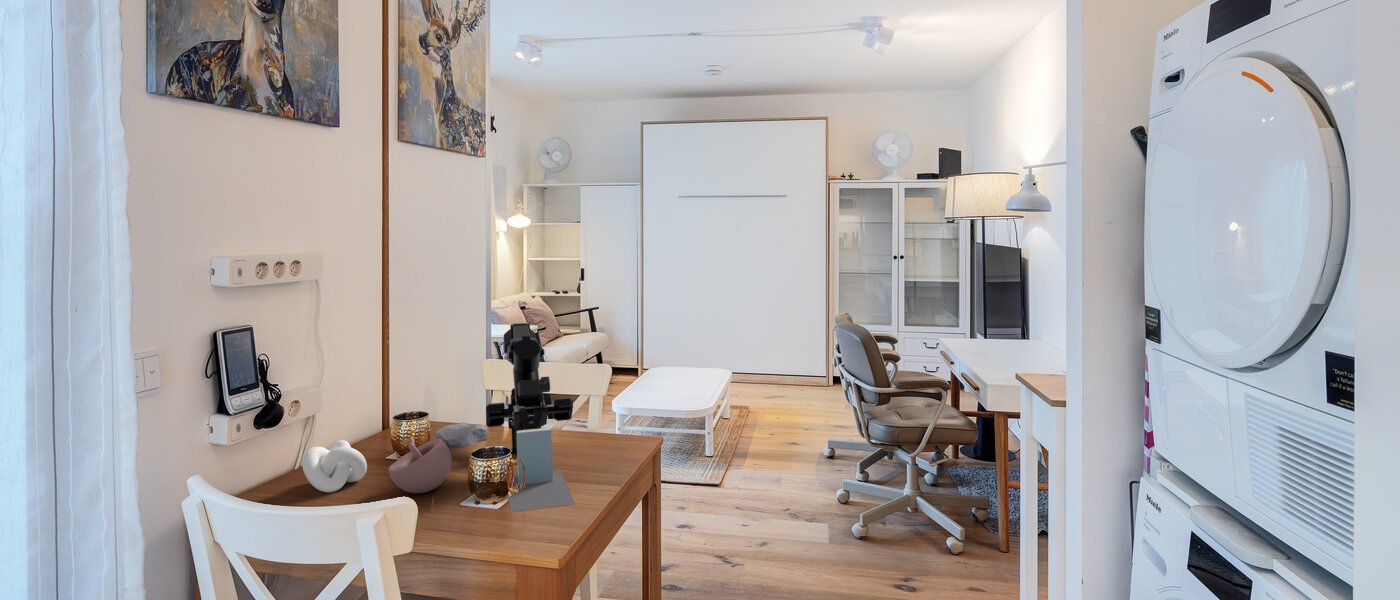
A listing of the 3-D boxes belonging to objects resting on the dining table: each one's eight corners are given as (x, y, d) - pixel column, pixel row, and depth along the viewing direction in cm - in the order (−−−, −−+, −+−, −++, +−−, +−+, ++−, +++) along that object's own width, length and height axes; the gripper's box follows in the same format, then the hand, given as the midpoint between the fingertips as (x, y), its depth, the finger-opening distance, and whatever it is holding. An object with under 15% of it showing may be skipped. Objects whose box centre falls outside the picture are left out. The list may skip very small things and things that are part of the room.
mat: (504, 477, 151) (504, 475, 151) (560, 471, 155) (560, 469, 155) (510, 514, 131) (510, 512, 131) (575, 506, 134) (575, 503, 134)
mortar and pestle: (391, 486, 147) (389, 432, 146) (452, 478, 151) (449, 427, 150) (388, 505, 136) (385, 448, 135) (453, 497, 140) (450, 441, 139)
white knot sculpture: (296, 485, 149) (294, 443, 148) (357, 472, 156) (355, 433, 155) (307, 499, 140) (305, 455, 139) (371, 485, 148) (369, 444, 147)
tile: (518, 481, 147) (516, 430, 147) (551, 477, 150) (550, 427, 149) (518, 484, 146) (517, 433, 145) (552, 480, 148) (551, 429, 147)
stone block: (462, 455, 175) (492, 438, 183) (458, 438, 174) (488, 421, 182) (431, 450, 181) (461, 434, 189) (427, 433, 180) (457, 417, 188)
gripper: (484, 367, 151) (487, 429, 142) (570, 362, 157) (579, 421, 148) (484, 396, 160) (487, 456, 150) (567, 390, 165) (575, 448, 156)
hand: (532, 445), depth 151 cm, fingers closed
